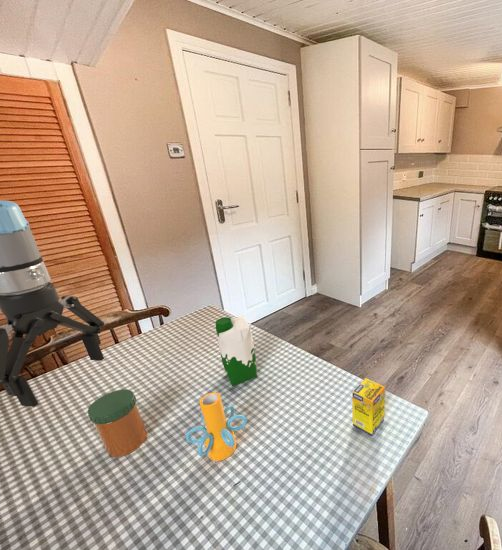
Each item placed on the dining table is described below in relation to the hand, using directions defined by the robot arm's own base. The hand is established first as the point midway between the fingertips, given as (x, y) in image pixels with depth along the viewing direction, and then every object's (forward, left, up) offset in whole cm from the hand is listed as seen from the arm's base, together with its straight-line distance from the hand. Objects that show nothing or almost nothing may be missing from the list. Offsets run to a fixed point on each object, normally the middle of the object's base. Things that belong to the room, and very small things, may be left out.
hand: (67, 380), depth 63 cm
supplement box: (+38, +51, -19) cm, 67 cm away
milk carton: (-1, +34, -19) cm, 39 cm away
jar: (+4, +5, -19) cm, 20 cm away
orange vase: (+21, +21, -19) cm, 35 cm away
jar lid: (+4, +5, -7) cm, 10 cm away
